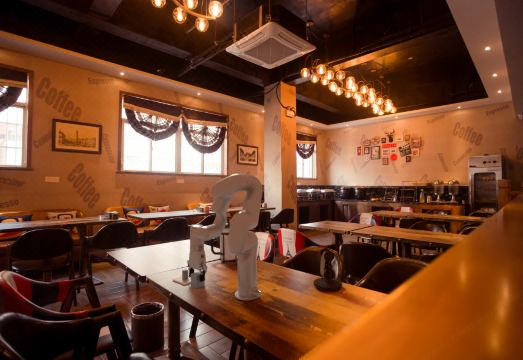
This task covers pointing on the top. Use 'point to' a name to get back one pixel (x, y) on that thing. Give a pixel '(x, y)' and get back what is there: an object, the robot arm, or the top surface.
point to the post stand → (183, 278)
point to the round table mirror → (327, 272)
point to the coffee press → (224, 245)
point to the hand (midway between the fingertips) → (196, 279)
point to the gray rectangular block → (196, 280)
